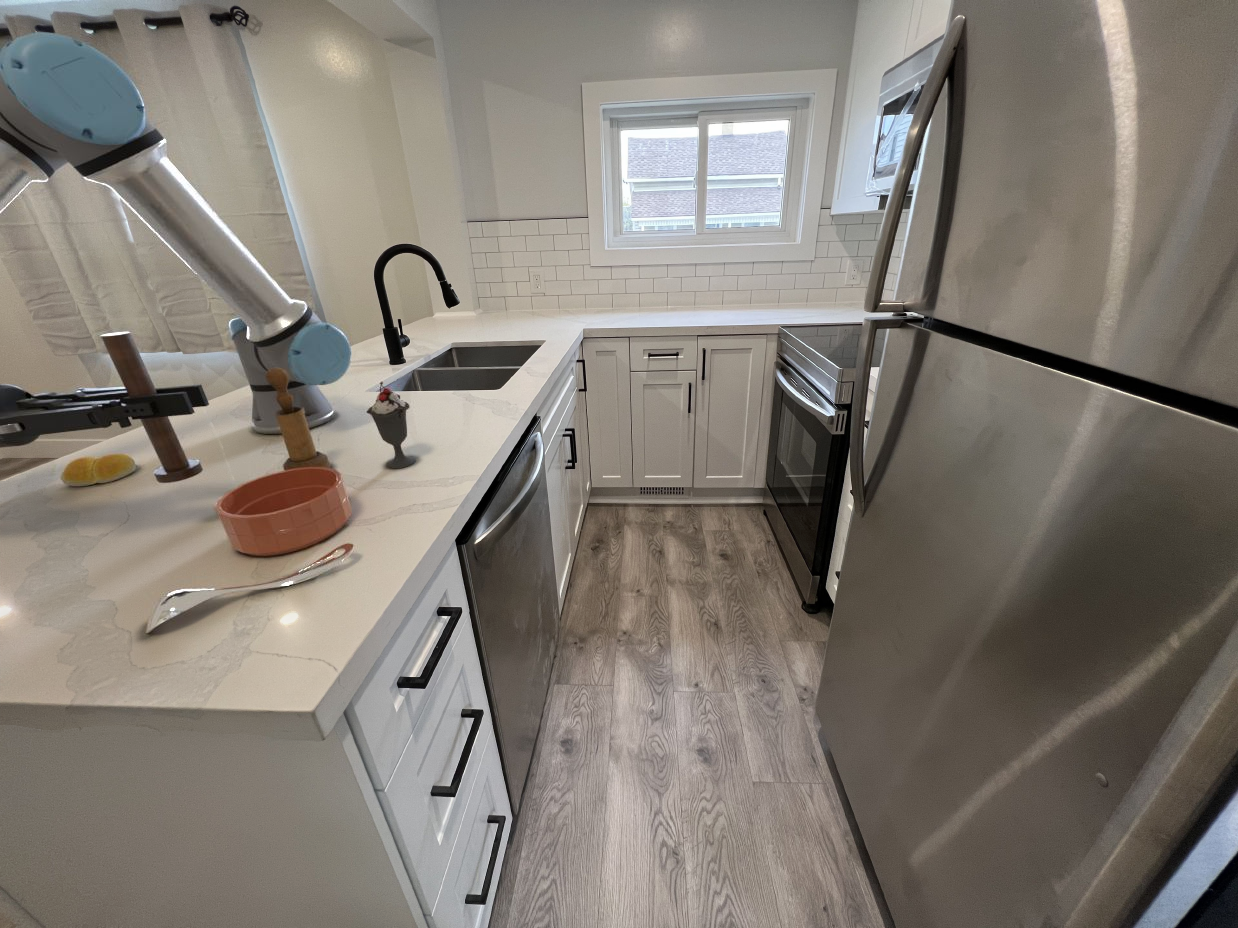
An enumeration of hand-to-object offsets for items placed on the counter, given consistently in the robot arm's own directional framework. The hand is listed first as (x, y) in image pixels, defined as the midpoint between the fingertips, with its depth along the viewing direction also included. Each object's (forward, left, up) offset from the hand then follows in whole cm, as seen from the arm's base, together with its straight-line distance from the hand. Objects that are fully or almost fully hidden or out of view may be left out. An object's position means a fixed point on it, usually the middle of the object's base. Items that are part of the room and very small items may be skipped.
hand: (196, 399), depth 63 cm
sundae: (-15, +18, -18) cm, 30 cm away
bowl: (+4, +8, -18) cm, 20 cm away
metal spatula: (+18, +10, -18) cm, 27 cm away
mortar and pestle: (-15, +3, -18) cm, 24 cm away
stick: (0, -5, -10) cm, 11 cm away
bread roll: (-23, -33, -18) cm, 44 cm away
